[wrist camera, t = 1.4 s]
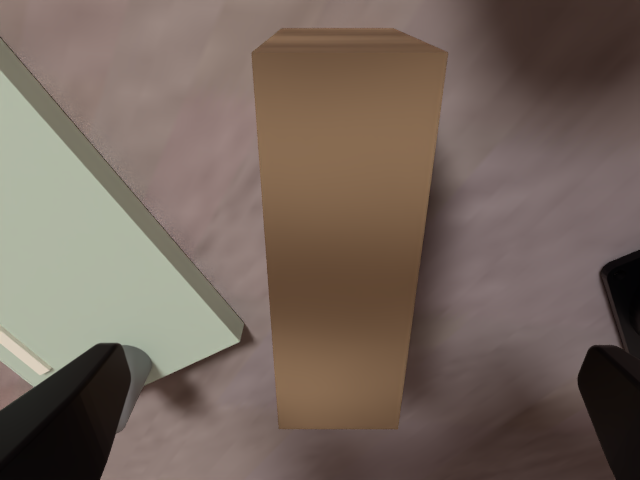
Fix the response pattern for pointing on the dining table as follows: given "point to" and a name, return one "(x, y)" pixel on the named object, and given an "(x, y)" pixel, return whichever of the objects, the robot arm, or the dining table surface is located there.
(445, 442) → the dining table surface
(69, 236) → the ledge board
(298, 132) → the brown wooden block
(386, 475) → the dining table surface
